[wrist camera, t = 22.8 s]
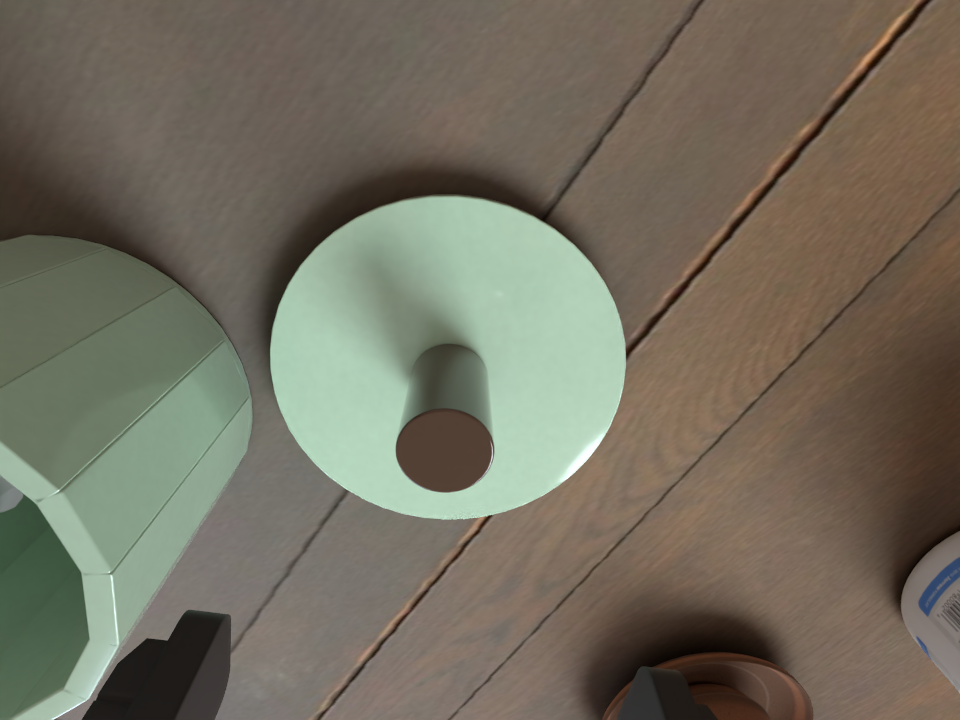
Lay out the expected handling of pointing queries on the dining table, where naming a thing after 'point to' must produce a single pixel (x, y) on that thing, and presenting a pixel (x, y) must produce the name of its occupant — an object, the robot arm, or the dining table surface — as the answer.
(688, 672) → the cup and saucer
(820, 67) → the dining table surface
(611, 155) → the dining table surface
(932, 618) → the supplement tub
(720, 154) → the dining table surface
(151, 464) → the jar
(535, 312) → the jar lid
